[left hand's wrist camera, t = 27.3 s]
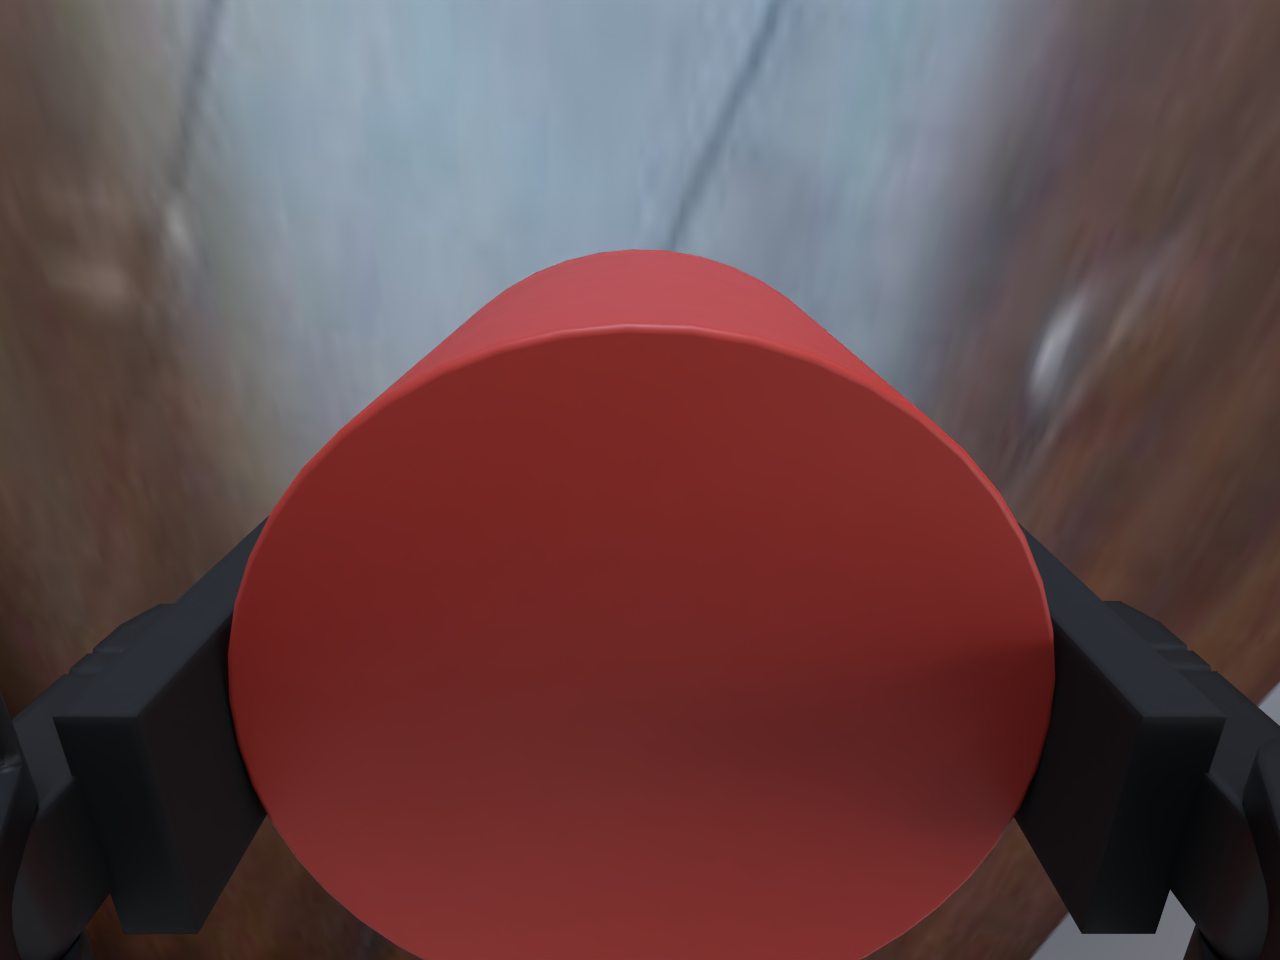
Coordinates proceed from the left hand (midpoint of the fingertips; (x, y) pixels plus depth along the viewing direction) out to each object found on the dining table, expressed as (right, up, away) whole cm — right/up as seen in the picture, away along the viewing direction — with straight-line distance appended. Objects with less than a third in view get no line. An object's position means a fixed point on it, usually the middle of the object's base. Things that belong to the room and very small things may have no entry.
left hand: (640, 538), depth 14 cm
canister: (0, +1, +2) cm, 2 cm away
